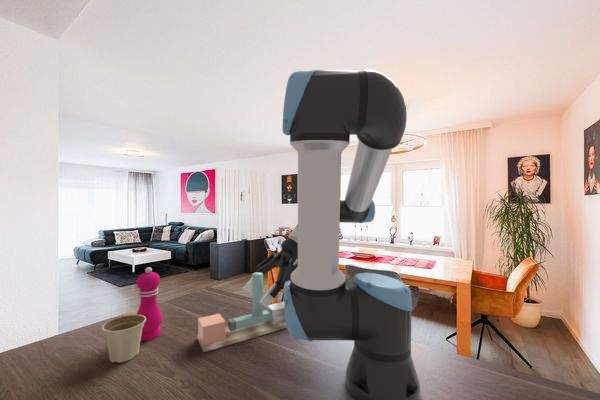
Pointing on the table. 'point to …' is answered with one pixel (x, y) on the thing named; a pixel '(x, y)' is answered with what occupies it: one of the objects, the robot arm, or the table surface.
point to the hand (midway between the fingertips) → (253, 297)
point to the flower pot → (123, 337)
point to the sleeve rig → (252, 329)
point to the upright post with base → (253, 307)
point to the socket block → (211, 329)
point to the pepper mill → (149, 304)
